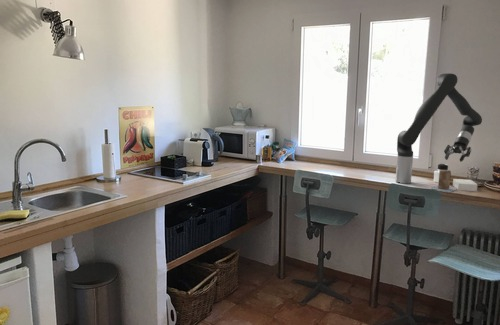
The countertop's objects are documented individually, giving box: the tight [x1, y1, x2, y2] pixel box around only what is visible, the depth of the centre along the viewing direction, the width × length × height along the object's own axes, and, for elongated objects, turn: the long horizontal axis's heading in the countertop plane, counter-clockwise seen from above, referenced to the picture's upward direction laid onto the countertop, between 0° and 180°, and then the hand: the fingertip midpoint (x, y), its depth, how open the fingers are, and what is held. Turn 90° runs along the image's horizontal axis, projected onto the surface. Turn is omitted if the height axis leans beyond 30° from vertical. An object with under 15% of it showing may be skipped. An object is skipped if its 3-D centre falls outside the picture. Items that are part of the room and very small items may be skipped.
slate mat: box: [430, 185, 459, 193], centre depth 239 cm, size 12×12×1 cm
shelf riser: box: [452, 178, 478, 192], centre depth 242 cm, size 10×14×4 cm
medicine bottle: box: [433, 163, 452, 184], centre depth 257 cm, size 7×7×12 cm
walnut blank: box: [437, 169, 452, 190], centre depth 238 cm, size 4×4×11 cm
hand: (453, 159), depth 242 cm, fingers open, 8 cm apart
